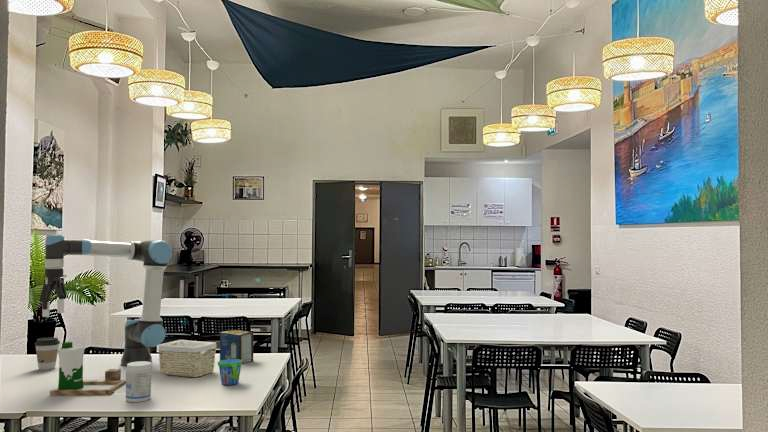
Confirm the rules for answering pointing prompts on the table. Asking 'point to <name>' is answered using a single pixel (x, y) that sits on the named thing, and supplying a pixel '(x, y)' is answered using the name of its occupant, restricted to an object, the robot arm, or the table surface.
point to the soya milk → (70, 367)
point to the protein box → (236, 345)
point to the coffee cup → (47, 352)
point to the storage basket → (187, 358)
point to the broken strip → (97, 380)
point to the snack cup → (230, 371)
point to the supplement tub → (138, 381)
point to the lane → (90, 391)
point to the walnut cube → (113, 375)
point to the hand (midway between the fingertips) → (53, 314)
